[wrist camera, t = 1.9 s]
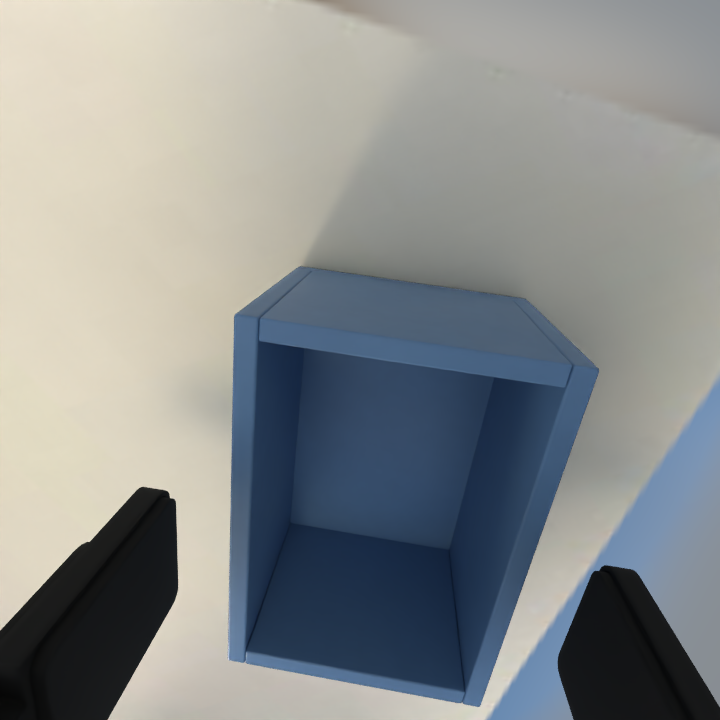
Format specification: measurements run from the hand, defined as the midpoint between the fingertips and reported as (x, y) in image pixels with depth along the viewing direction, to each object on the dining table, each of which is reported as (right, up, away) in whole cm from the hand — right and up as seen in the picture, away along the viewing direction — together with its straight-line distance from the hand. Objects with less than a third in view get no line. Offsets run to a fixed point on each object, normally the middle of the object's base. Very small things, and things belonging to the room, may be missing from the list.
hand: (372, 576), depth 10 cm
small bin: (+1, +3, +6) cm, 6 cm away
